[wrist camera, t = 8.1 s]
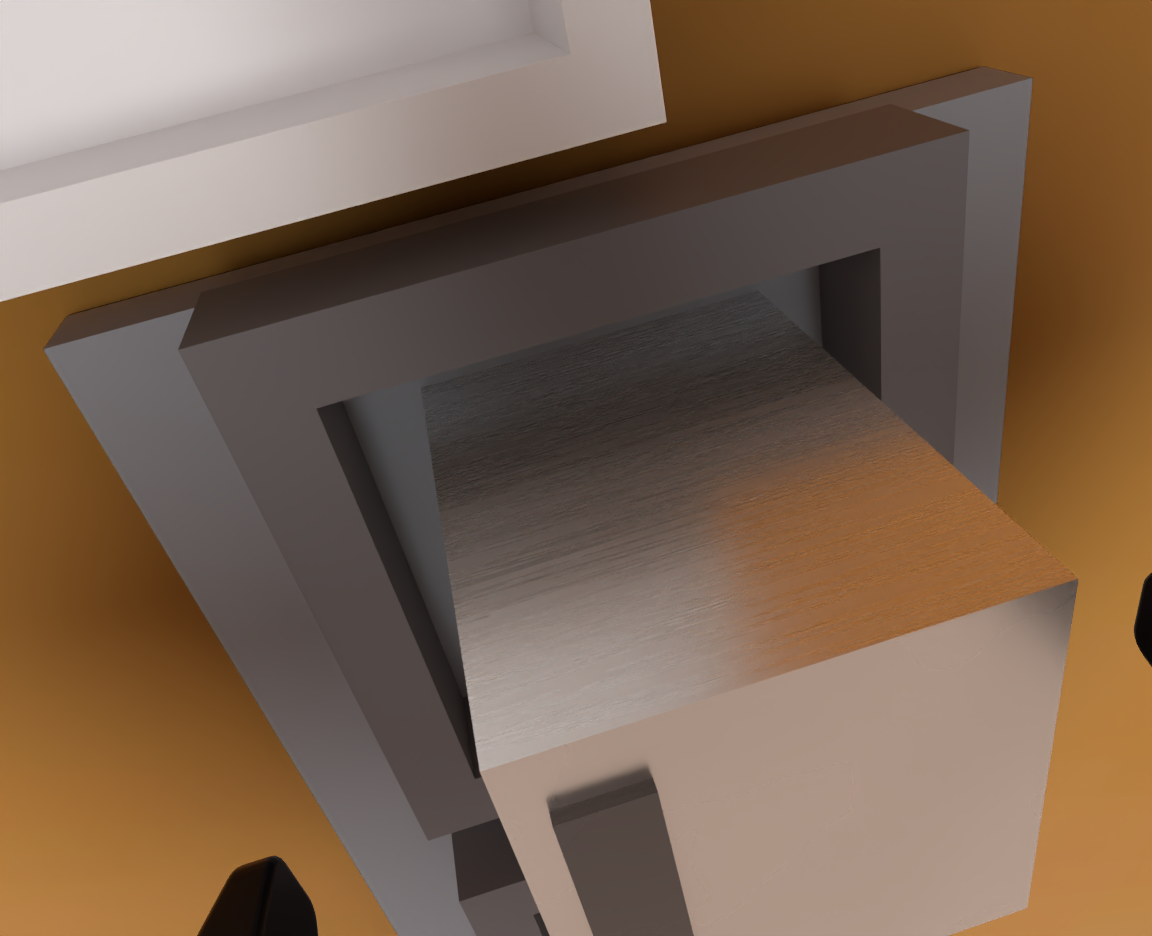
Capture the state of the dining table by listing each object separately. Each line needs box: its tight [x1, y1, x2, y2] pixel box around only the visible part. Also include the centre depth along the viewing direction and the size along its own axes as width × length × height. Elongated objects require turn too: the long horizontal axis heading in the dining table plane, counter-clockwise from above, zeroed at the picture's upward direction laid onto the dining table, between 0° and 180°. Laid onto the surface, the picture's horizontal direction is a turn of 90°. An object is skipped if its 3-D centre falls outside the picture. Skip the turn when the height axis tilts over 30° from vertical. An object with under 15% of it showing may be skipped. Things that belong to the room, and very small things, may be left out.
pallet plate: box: [43, 67, 1033, 936], centre depth 15 cm, size 12×18×3 cm, turn 12°
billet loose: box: [421, 290, 1078, 936], centre depth 10 cm, size 4×4×6 cm
